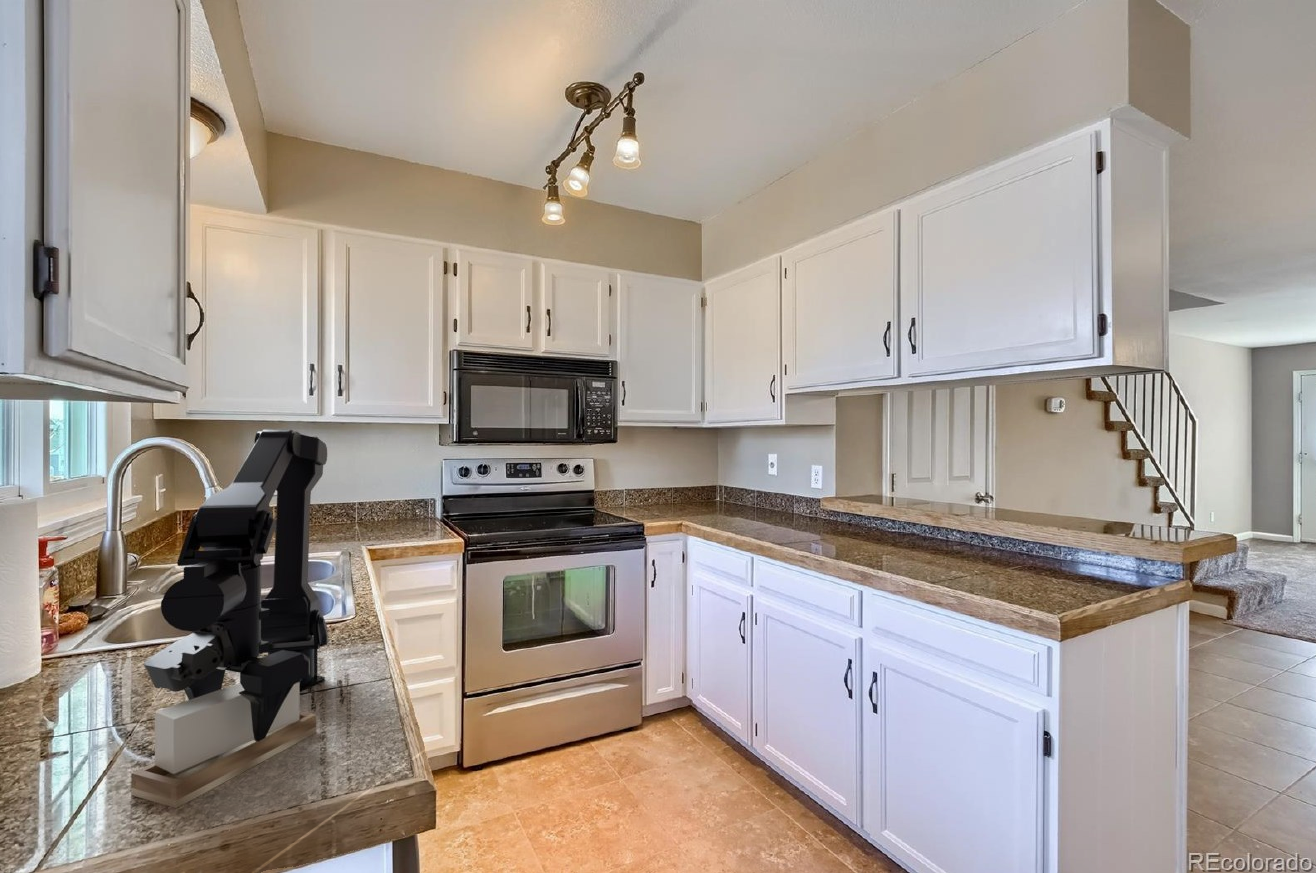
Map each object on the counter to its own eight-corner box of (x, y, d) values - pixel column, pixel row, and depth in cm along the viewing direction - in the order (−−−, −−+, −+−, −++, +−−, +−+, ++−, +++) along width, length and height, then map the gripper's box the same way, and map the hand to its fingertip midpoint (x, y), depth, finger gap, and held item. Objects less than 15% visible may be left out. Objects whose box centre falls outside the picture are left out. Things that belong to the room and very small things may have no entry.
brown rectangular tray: (276, 724, 82) (276, 706, 82) (316, 732, 80) (316, 714, 80) (131, 795, 66) (131, 773, 66) (176, 808, 63) (176, 785, 63)
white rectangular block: (280, 713, 80) (280, 668, 80) (299, 720, 78) (299, 674, 78) (154, 764, 67) (155, 711, 67) (173, 774, 66) (173, 719, 66)
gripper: (104, 616, 68) (103, 753, 68) (219, 634, 62) (219, 784, 62) (205, 592, 79) (205, 710, 79) (313, 605, 73) (312, 734, 73)
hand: (232, 733), depth 73 cm, fingers open, 9 cm apart
